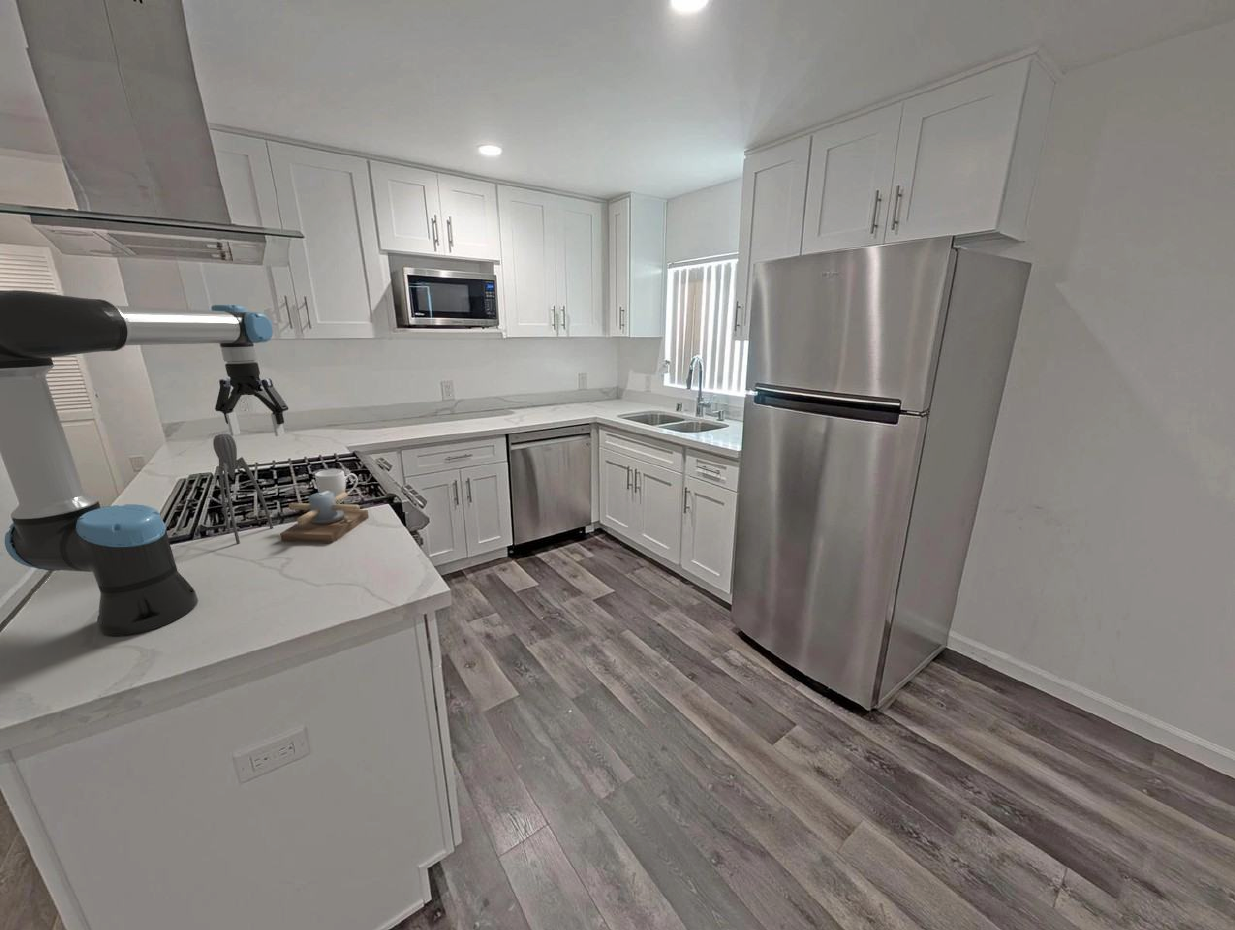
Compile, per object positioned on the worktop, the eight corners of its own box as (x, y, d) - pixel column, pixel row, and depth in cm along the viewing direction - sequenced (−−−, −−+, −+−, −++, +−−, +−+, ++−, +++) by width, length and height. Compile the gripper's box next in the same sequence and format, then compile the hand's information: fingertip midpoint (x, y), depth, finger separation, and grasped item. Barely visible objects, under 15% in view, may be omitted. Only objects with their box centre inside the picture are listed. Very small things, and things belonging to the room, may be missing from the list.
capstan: (340, 535, 132) (335, 508, 129) (268, 533, 133) (262, 506, 131) (381, 507, 152) (377, 483, 149) (317, 505, 153) (313, 481, 150)
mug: (321, 511, 156) (314, 478, 152) (320, 503, 163) (314, 471, 159) (362, 503, 162) (357, 471, 159) (359, 496, 169) (354, 465, 165)
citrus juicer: (238, 544, 133) (211, 439, 124) (209, 541, 135) (180, 437, 126) (274, 527, 144) (251, 430, 135) (246, 524, 146) (222, 428, 137)
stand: (332, 542, 134) (330, 529, 132) (281, 541, 134) (278, 528, 133) (368, 517, 151) (366, 505, 150) (323, 516, 152) (320, 504, 150)
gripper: (292, 360, 139) (307, 432, 145) (210, 360, 140) (227, 431, 146) (274, 363, 132) (289, 438, 138) (187, 363, 133) (206, 437, 139)
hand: (258, 434), depth 142 cm, fingers open, 13 cm apart
